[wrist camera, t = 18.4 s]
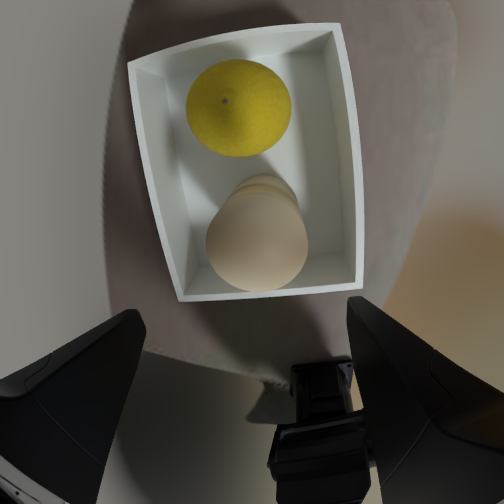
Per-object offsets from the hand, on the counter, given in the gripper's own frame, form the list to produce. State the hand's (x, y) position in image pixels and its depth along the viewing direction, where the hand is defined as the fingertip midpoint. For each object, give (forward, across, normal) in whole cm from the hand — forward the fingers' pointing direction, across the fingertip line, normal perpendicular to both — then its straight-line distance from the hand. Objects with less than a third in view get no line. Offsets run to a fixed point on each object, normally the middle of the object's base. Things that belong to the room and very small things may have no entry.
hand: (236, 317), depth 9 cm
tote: (+13, 0, -4) cm, 13 cm away
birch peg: (+12, 0, 0) cm, 12 cm away
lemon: (+13, 0, -7) cm, 14 cm away
